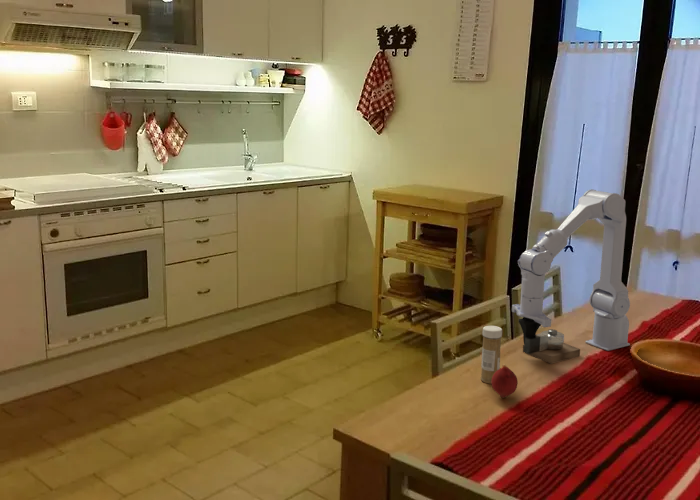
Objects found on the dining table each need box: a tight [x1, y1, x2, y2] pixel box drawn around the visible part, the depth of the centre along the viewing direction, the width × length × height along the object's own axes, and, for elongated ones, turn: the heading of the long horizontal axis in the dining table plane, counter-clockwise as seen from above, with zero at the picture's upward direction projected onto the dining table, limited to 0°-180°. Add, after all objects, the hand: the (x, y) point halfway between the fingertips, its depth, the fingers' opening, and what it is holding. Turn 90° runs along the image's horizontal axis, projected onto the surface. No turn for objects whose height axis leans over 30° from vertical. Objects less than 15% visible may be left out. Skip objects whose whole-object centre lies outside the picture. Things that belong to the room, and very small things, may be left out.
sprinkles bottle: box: [480, 325, 503, 385], centre depth 167 cm, size 5×5×13 cm
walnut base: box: [522, 342, 581, 365], centre depth 187 cm, size 11×10×2 cm
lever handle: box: [523, 328, 565, 355], centre depth 184 cm, size 13×6×4 cm, turn 125°
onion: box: [490, 363, 518, 399], centre depth 158 cm, size 6×6×8 cm
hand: (528, 345), depth 184 cm, fingers closed
